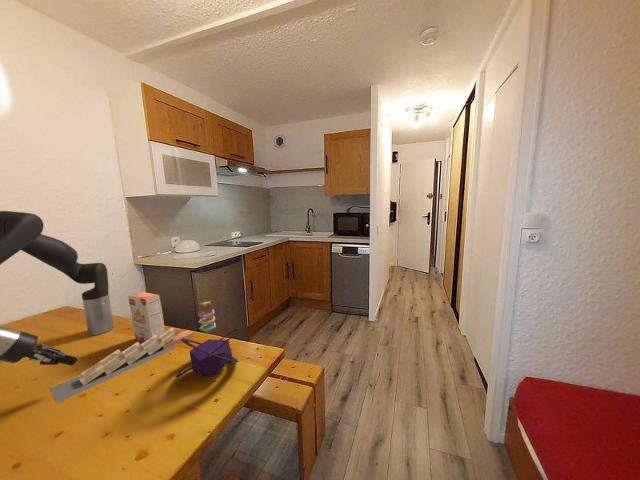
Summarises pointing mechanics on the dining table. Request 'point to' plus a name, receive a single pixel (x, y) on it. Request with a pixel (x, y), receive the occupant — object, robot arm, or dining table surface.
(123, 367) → the slate mat
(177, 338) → the end tile
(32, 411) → the dining table surface
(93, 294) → the robot arm
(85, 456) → the dining table surface
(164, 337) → the tall wooden block
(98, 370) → the tile
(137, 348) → the tile
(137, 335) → the cracker box
